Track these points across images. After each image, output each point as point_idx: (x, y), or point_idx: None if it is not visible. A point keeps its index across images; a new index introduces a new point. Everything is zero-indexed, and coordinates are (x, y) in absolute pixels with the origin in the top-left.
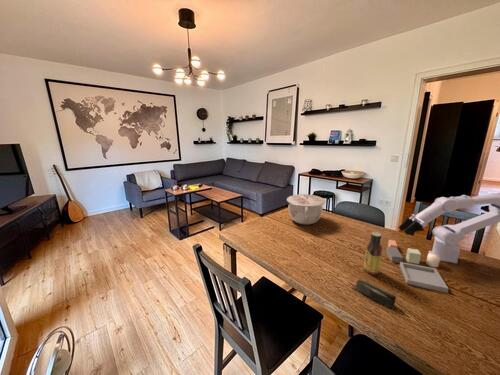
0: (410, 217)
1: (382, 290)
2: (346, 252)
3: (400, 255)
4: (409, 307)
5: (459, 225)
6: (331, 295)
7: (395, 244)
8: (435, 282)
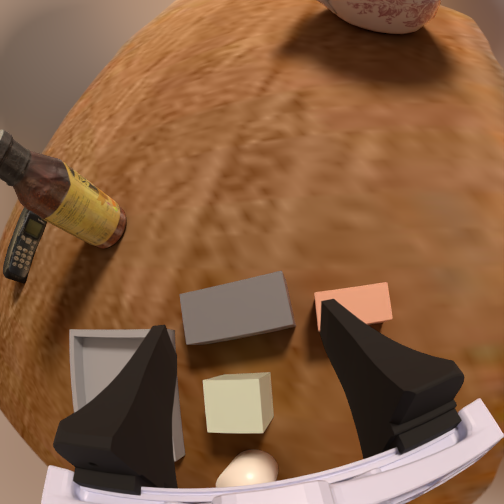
0: (486, 419)
1: (10, 249)
2: (202, 138)
3: (202, 334)
4: (25, 314)
5: None
6: None
7: None
8: None
